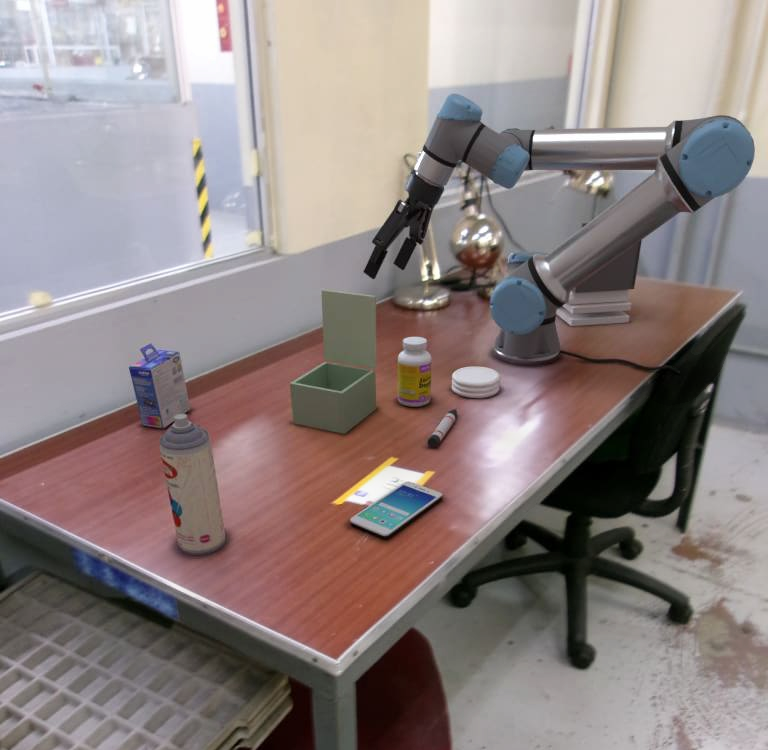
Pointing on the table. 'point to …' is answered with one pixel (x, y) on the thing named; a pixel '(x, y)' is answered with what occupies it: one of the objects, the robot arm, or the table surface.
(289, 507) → the table surface
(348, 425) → the chest
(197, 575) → the table surface
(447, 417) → the marker
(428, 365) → the supplement bottle
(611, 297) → the stack of books
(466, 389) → the coaster
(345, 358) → the lid
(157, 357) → the ink cartridge box
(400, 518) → the smartphone
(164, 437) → the aerosol can
